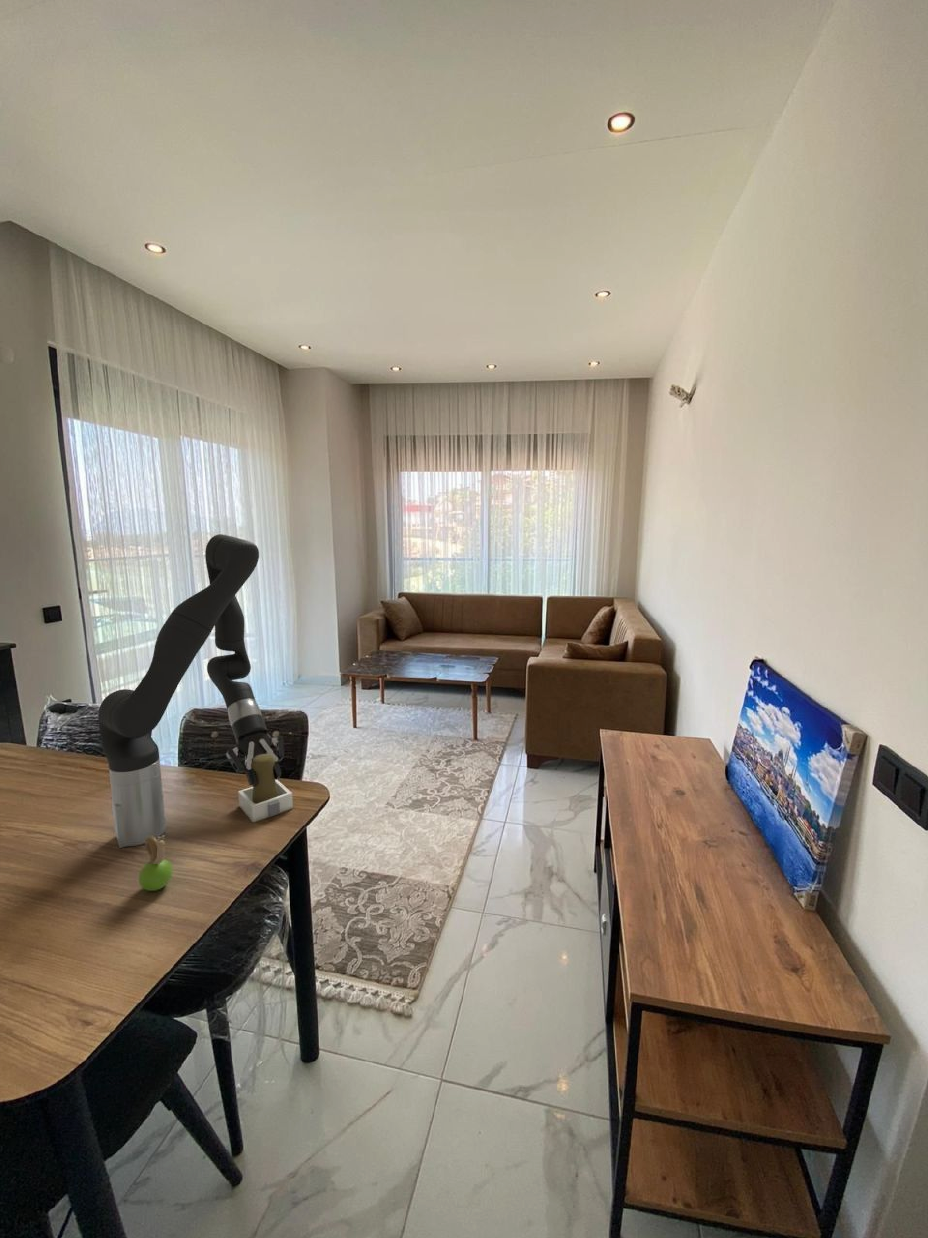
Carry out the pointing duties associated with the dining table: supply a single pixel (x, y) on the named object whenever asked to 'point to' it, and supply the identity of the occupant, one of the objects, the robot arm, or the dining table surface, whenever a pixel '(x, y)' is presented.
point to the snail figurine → (155, 866)
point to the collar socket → (265, 803)
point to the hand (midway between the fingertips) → (266, 781)
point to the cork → (264, 778)
